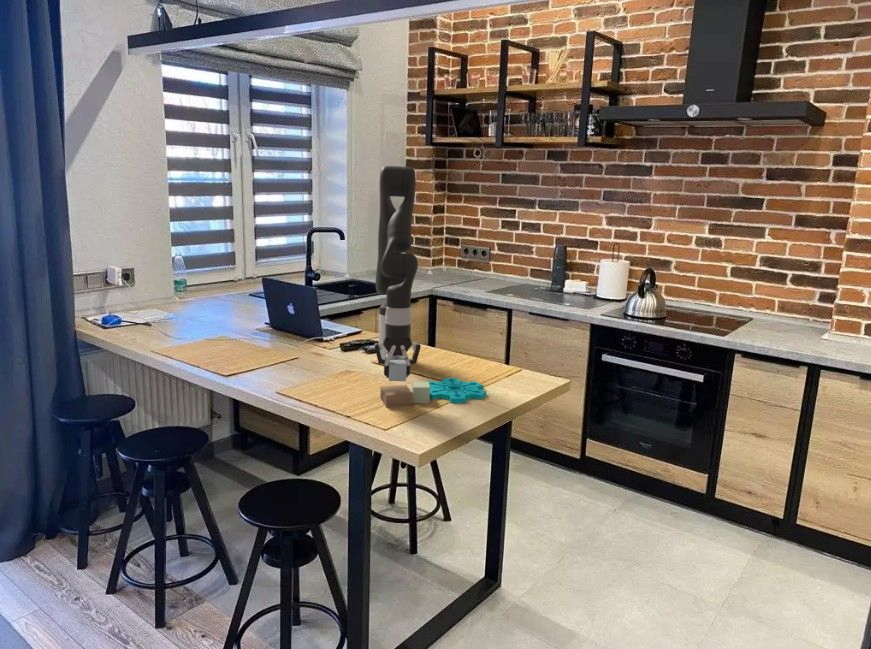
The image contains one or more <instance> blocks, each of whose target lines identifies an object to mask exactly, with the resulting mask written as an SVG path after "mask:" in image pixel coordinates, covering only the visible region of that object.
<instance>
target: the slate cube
mask: <svg viewBox="0 0 871 649" xmlns="http://www.w3.org/2000/svg"><path fill="white" fill-rule="evenodd" d="M387 379H388V382H407V378H406V362H405V359H404V360H390V362H389V378H387Z"/></svg>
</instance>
